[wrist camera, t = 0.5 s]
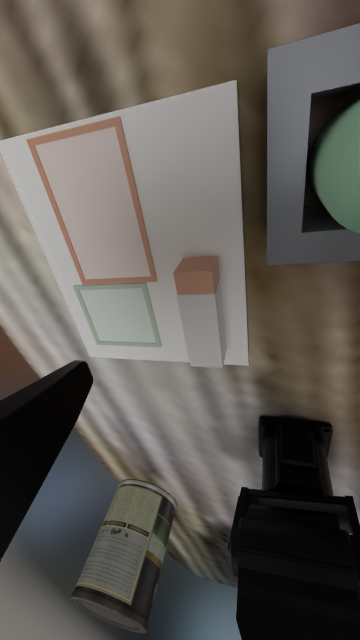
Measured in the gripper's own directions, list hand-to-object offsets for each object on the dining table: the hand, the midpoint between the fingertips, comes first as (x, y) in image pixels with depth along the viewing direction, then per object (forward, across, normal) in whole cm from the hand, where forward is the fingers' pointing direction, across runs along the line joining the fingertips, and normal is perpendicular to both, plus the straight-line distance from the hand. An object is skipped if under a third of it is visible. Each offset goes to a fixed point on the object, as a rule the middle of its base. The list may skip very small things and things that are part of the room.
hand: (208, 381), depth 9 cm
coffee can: (+14, +16, +41) cm, 46 cm away
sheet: (+12, +8, +1) cm, 15 cm away
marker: (+12, +3, +4) cm, 13 cm away
